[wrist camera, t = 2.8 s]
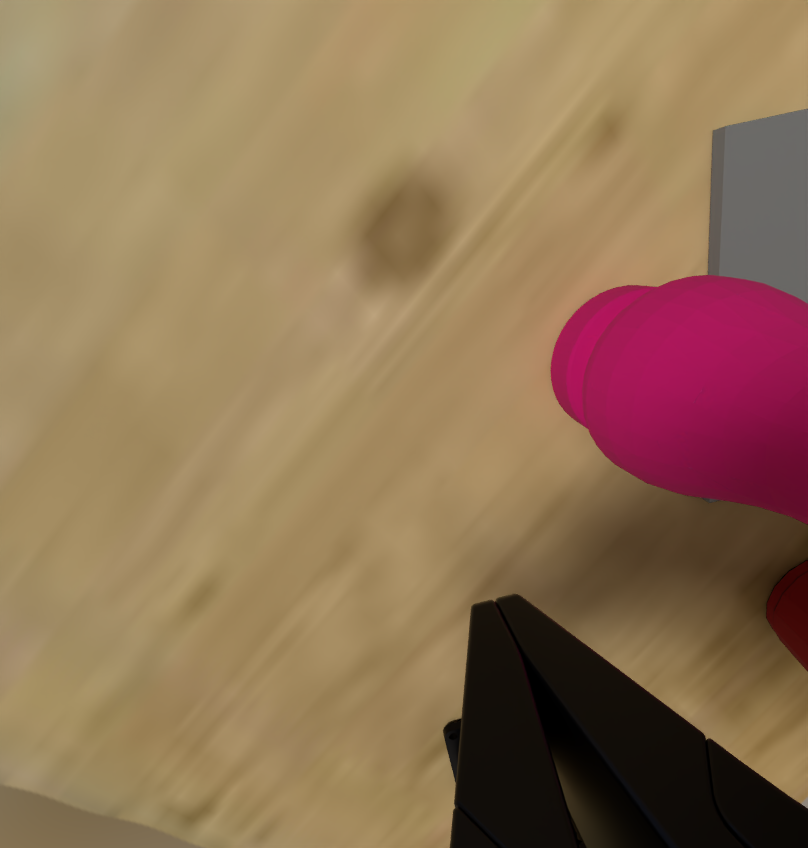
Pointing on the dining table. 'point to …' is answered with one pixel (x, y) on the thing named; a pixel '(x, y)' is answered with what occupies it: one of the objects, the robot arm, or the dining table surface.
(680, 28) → the dining table surface
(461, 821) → the robot arm
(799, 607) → the plastic cup
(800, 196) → the mat
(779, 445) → the pepper mill
